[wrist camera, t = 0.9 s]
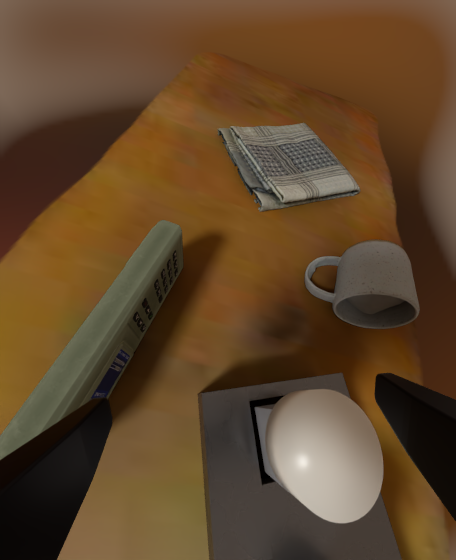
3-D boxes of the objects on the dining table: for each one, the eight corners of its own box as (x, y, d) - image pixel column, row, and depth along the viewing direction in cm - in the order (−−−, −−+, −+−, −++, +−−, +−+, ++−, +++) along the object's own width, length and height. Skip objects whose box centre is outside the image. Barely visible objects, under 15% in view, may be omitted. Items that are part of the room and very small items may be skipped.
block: (378, 279, 31) (430, 246, 24) (379, 335, 27) (441, 314, 20) (305, 252, 31) (337, 213, 24) (296, 305, 27) (331, 275, 20)
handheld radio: (188, 267, 27) (12, 576, 15) (162, 256, 27) (-33, 553, 15) (188, 228, 21) (-107, 693, 9) (154, 215, 21) (-180, 652, 9)
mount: (390, 639, 16) (448, 705, 13) (220, 717, 14) (234, 829, 10) (317, 376, 23) (342, 372, 20) (198, 394, 21) (201, 393, 17)
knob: (329, 471, 17) (401, 506, 11) (256, 489, 16) (297, 538, 10) (307, 387, 19) (359, 382, 14) (243, 397, 18) (270, 396, 13)
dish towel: (302, 130, 44) (311, 112, 42) (356, 199, 38) (370, 183, 35) (212, 136, 39) (214, 116, 36) (257, 219, 32) (264, 202, 29)
